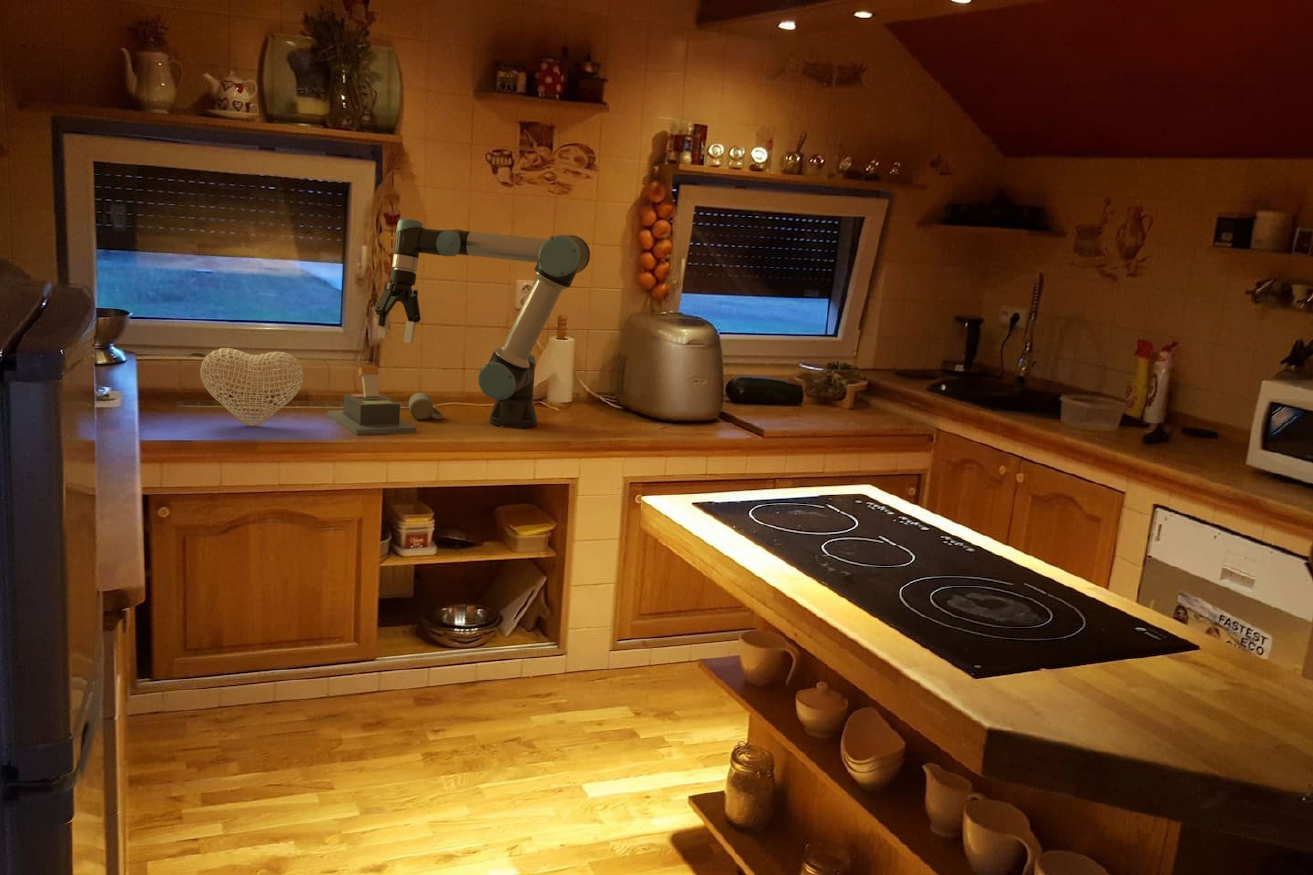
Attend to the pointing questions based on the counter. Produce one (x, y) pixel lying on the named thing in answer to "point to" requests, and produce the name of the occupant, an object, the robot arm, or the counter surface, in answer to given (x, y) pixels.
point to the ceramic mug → (423, 407)
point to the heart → (248, 356)
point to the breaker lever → (369, 381)
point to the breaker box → (371, 415)
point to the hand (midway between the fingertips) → (395, 340)
